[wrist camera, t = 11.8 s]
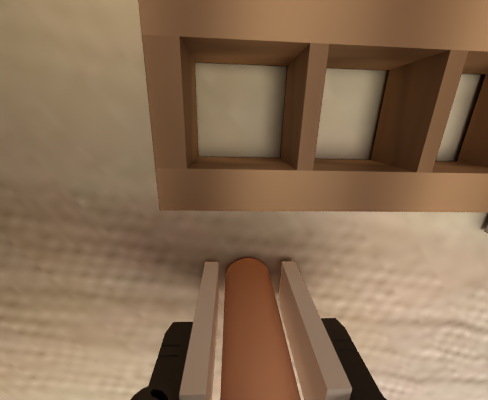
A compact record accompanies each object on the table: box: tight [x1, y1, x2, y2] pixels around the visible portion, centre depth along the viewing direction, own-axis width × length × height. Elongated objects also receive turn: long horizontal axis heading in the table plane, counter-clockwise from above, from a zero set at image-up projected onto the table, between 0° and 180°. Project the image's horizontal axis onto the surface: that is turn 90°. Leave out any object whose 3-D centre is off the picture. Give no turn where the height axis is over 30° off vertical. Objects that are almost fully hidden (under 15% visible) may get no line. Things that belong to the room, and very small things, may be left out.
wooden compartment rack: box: [138, 0, 488, 212], centre depth 9 cm, size 15×7×3 cm, turn 88°
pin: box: [220, 258, 301, 400], centre depth 9 cm, size 3×3×10 cm
